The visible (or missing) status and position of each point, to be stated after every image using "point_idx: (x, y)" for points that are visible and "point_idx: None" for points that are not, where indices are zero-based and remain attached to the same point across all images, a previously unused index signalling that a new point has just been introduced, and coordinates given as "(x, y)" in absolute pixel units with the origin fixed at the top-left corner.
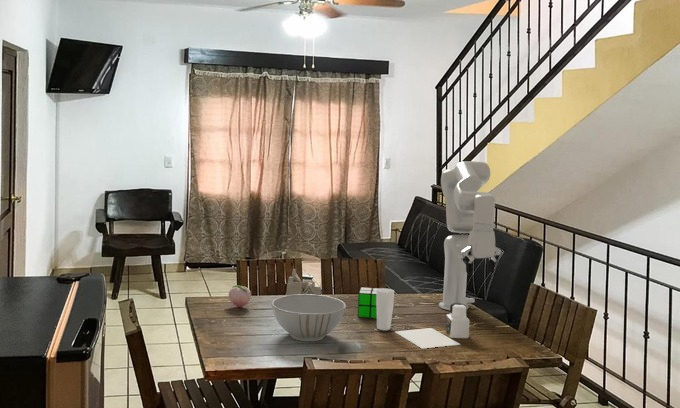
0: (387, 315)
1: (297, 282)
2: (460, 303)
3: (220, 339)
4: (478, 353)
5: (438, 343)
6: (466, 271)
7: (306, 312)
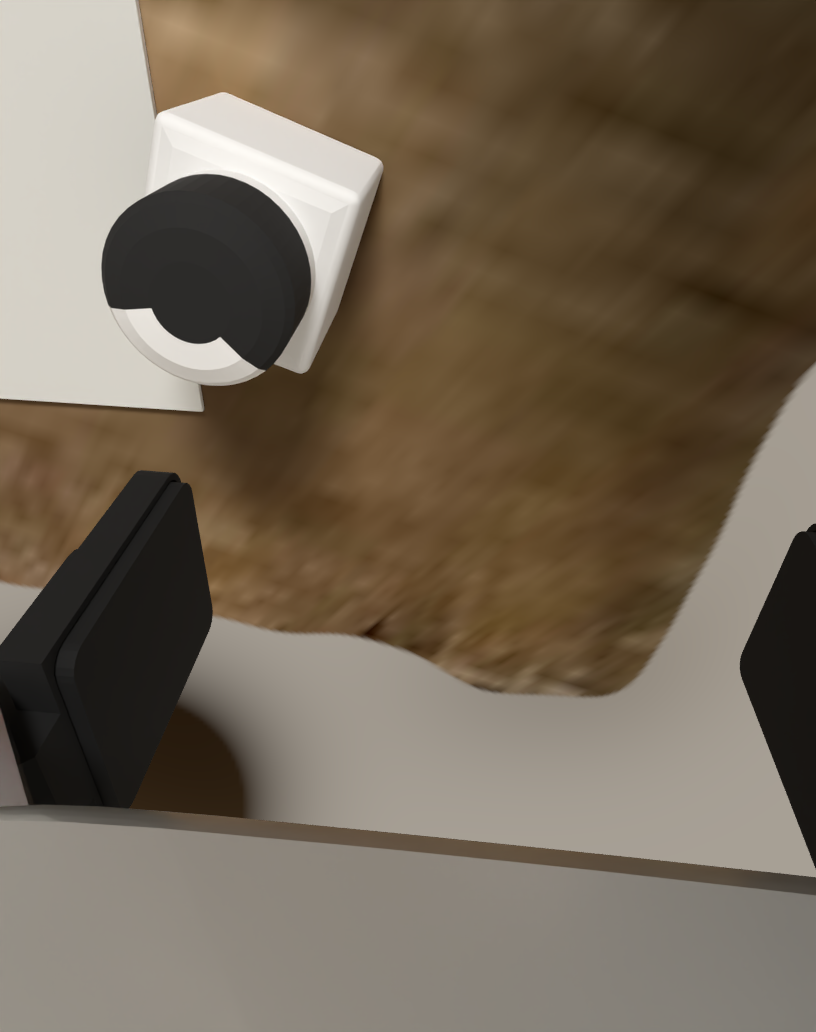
0: None
1: None
2: (231, 277)
3: None
4: (242, 551)
5: (49, 349)
6: (137, 491)
7: None
